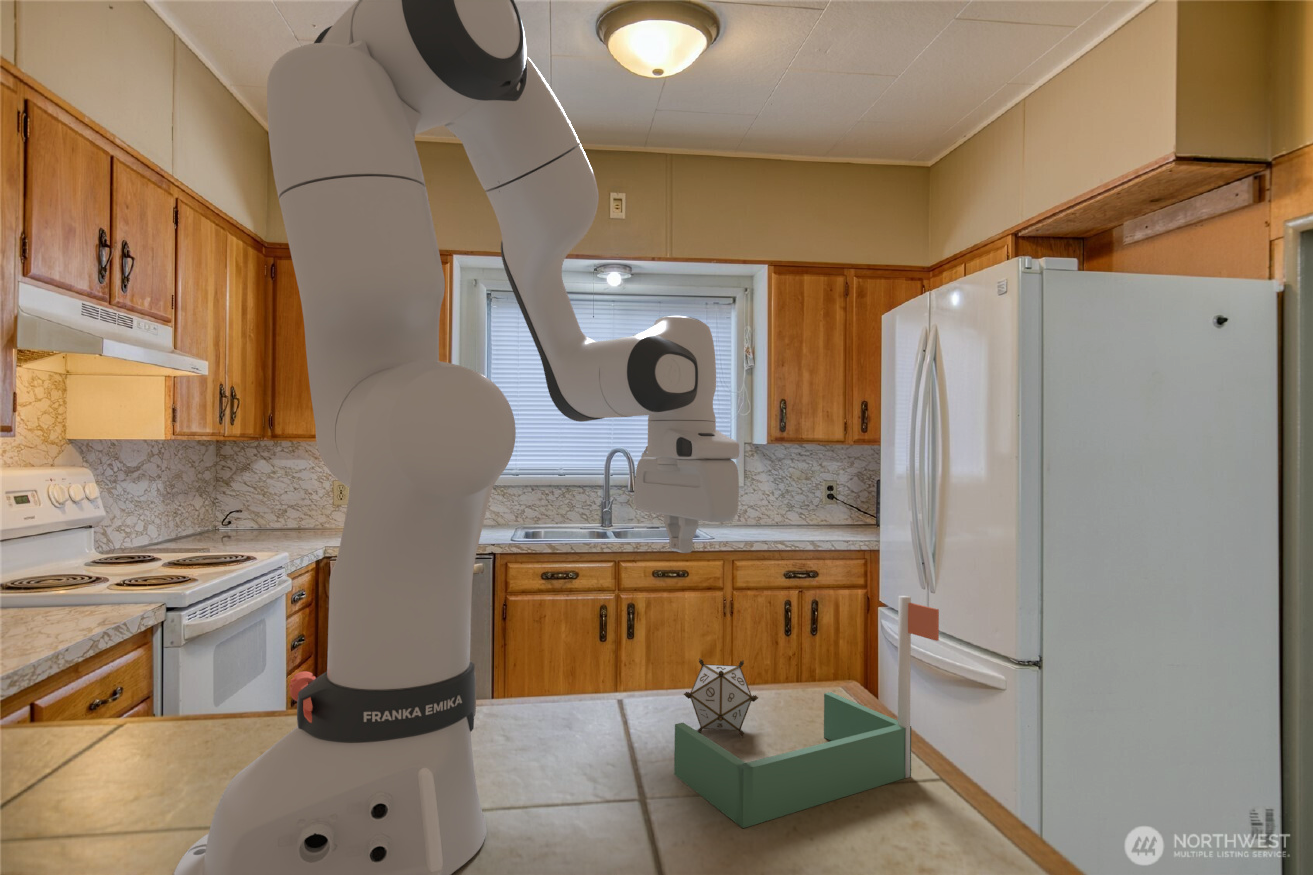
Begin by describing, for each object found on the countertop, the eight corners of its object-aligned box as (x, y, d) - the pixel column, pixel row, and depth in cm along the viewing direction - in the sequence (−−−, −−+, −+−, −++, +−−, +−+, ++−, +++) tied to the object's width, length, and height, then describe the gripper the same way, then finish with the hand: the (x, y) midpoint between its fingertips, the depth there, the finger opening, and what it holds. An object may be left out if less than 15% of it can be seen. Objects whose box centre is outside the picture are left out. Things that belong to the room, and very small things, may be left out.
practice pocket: (768, 848, 57) (770, 627, 58) (674, 774, 70) (676, 594, 71) (941, 790, 68) (941, 603, 68) (830, 735, 81) (832, 578, 81)
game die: (730, 758, 83) (774, 684, 86) (730, 761, 75) (779, 680, 78) (667, 712, 86) (712, 642, 88) (662, 710, 78) (711, 633, 80)
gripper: (623, 444, 98) (622, 543, 98) (704, 443, 80) (703, 564, 80) (662, 444, 101) (661, 540, 101) (748, 444, 84) (747, 560, 83)
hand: (680, 551), depth 91 cm, fingers closed
